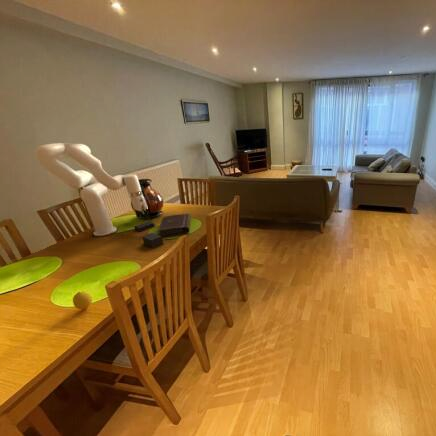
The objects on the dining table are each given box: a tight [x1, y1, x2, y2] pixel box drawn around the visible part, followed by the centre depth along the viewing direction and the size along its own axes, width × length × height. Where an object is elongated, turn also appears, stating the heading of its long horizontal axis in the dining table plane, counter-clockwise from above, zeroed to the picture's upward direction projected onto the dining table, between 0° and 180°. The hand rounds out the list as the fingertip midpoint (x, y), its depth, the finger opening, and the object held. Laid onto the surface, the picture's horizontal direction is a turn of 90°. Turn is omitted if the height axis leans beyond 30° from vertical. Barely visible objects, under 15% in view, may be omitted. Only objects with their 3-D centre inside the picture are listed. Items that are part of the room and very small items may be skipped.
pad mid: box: [141, 232, 163, 244], centre depth 142 cm, size 10×6×3 cm, turn 58°
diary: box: [157, 213, 191, 238], centre depth 164 cm, size 19×25×5 cm
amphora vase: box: [130, 178, 165, 220], centre depth 181 cm, size 22×22×28 cm
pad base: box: [142, 239, 164, 249], centre depth 143 cm, size 10×6×3 cm, turn 58°
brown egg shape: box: [72, 290, 93, 310], centre depth 93 cm, size 6×6×8 cm
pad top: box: [133, 220, 155, 233], centre depth 165 cm, size 10×6×3 cm, turn 148°
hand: (143, 217), depth 162 cm, fingers open, 9 cm apart
